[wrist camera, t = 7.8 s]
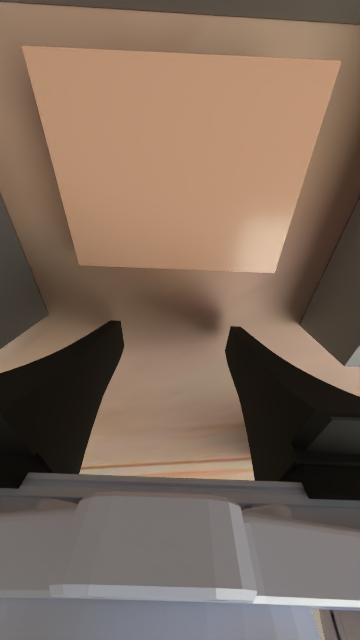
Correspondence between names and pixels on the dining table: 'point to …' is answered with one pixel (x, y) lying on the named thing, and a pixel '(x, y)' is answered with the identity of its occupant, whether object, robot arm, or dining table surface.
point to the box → (345, 264)
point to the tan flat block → (179, 152)
